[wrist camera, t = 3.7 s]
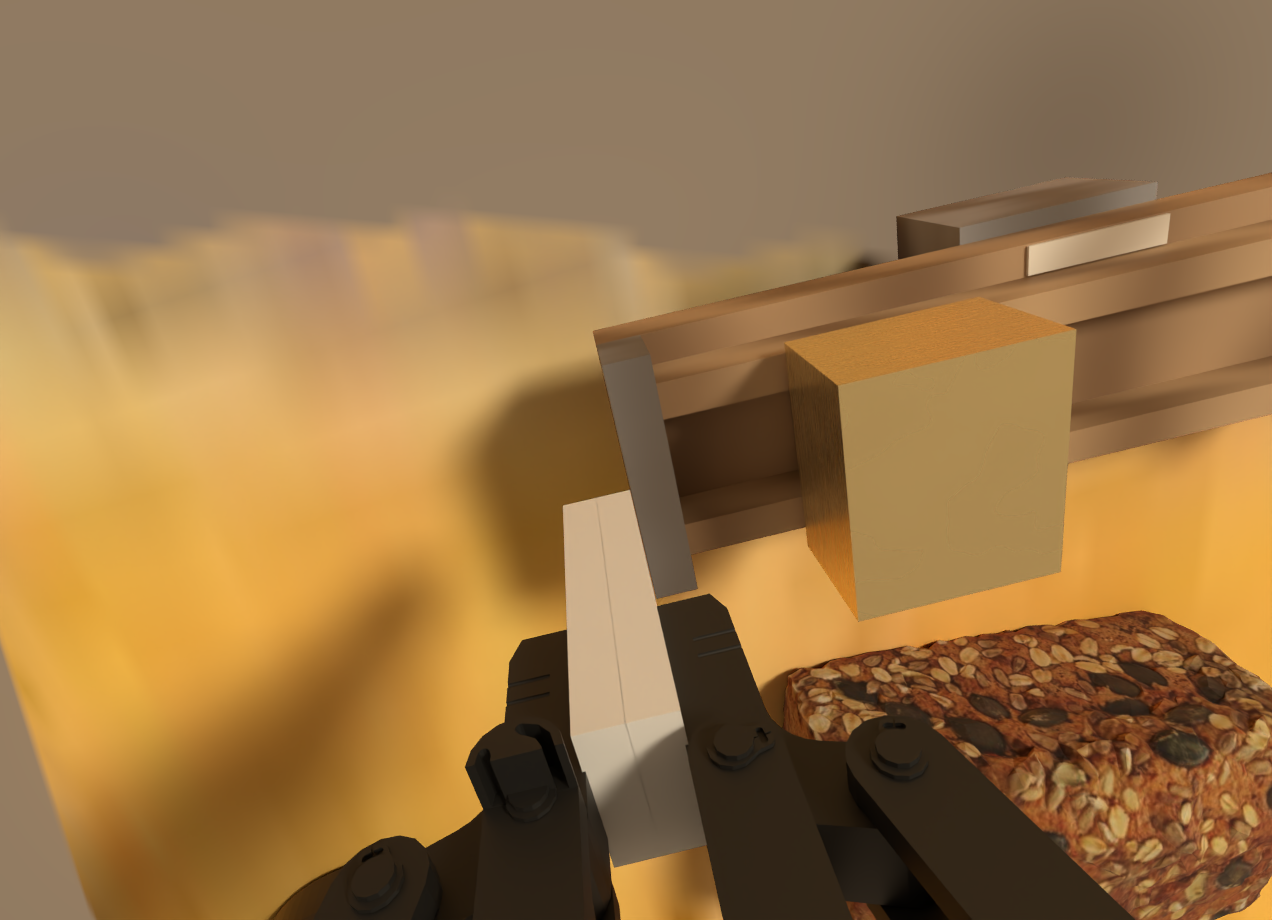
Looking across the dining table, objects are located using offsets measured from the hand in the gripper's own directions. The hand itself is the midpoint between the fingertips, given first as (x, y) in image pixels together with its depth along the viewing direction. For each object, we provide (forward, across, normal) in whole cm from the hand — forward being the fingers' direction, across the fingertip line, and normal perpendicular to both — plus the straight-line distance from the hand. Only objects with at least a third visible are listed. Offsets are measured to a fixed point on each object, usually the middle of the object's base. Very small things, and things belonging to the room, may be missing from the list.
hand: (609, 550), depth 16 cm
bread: (+11, +14, -20) cm, 27 cm away
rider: (+5, +8, 0) cm, 9 cm away
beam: (+11, +15, 0) cm, 18 cm away
